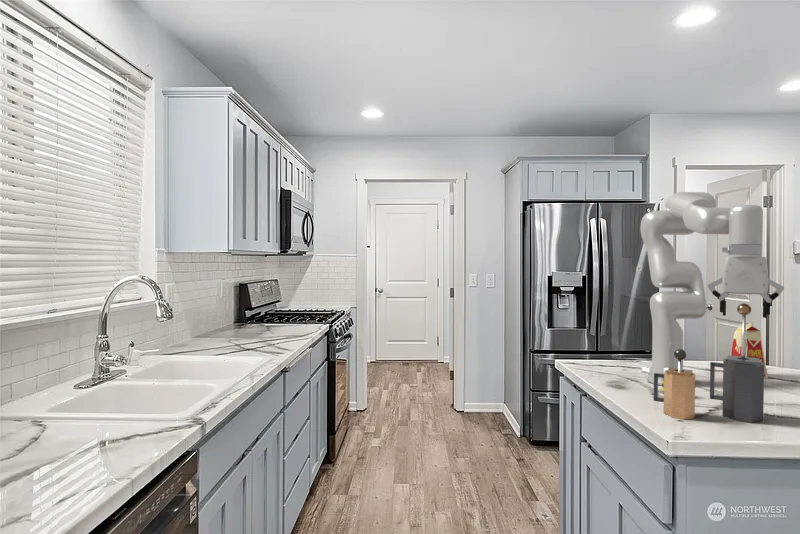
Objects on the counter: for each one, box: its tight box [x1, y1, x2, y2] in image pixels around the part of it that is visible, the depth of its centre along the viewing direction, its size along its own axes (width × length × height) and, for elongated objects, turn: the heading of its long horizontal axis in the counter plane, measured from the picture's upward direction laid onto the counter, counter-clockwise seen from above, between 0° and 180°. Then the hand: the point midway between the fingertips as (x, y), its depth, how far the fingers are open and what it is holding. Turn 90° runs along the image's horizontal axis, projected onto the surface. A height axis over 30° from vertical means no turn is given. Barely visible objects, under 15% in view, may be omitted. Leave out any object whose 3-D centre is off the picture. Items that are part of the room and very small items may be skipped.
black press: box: [709, 354, 765, 424], centre depth 138 cm, size 12×9×16 cm
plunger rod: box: [736, 302, 752, 360], centre depth 137 cm, size 3×3×21 cm
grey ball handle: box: [674, 349, 687, 372], centre depth 138 cm, size 3×3×17 cm
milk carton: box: [730, 322, 769, 380], centre depth 188 cm, size 9×9×20 cm
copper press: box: [653, 368, 696, 420], centre depth 139 cm, size 10×7×12 cm
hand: (744, 316), depth 136 cm, fingers open, 8 cm apart
